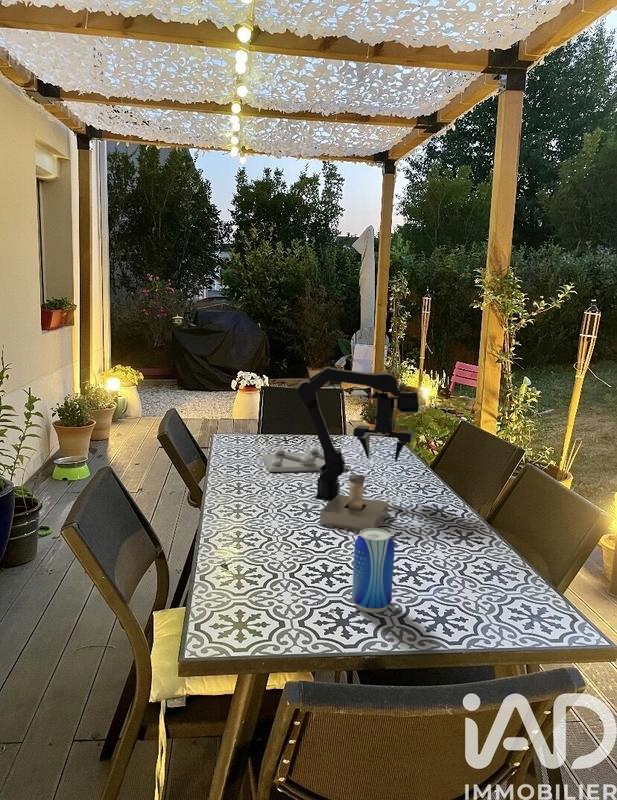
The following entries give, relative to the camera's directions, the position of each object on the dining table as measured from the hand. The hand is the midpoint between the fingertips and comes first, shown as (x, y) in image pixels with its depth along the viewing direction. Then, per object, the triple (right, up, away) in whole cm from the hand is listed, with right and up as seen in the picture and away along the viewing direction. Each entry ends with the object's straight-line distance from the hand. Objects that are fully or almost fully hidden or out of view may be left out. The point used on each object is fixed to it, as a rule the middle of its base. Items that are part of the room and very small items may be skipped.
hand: (382, 459), depth 202 cm
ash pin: (-10, -16, -17) cm, 26 cm away
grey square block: (-10, -16, -17) cm, 26 cm away
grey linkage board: (-25, -6, +40) cm, 48 cm away
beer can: (-10, -25, -68) cm, 73 cm away
